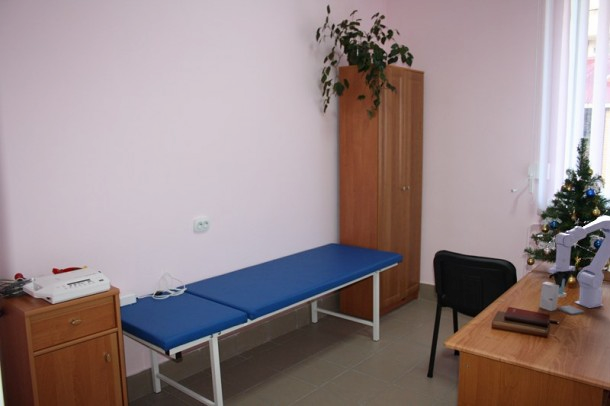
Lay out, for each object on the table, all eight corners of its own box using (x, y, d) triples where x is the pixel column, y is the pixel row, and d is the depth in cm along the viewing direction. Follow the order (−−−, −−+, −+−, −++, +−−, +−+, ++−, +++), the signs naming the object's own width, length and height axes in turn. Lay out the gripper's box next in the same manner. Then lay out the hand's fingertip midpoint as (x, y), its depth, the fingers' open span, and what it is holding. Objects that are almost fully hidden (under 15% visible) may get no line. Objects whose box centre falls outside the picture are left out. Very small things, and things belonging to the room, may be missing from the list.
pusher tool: (558, 293, 223) (560, 276, 222) (566, 296, 219) (568, 279, 218) (552, 294, 222) (554, 277, 220) (560, 297, 218) (561, 280, 217)
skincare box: (539, 307, 220) (541, 282, 218) (544, 305, 222) (546, 281, 221) (551, 311, 215) (553, 286, 213) (557, 309, 217) (559, 284, 215)
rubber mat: (569, 306, 221) (569, 305, 220) (584, 312, 213) (584, 311, 213) (556, 309, 218) (556, 307, 218) (571, 315, 210) (572, 313, 210)
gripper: (566, 255, 224) (564, 282, 226) (544, 257, 219) (542, 285, 221) (580, 258, 218) (577, 286, 219) (557, 261, 212) (555, 290, 214)
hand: (560, 286), depth 220 cm, fingers closed on pusher tool, 2 cm apart
